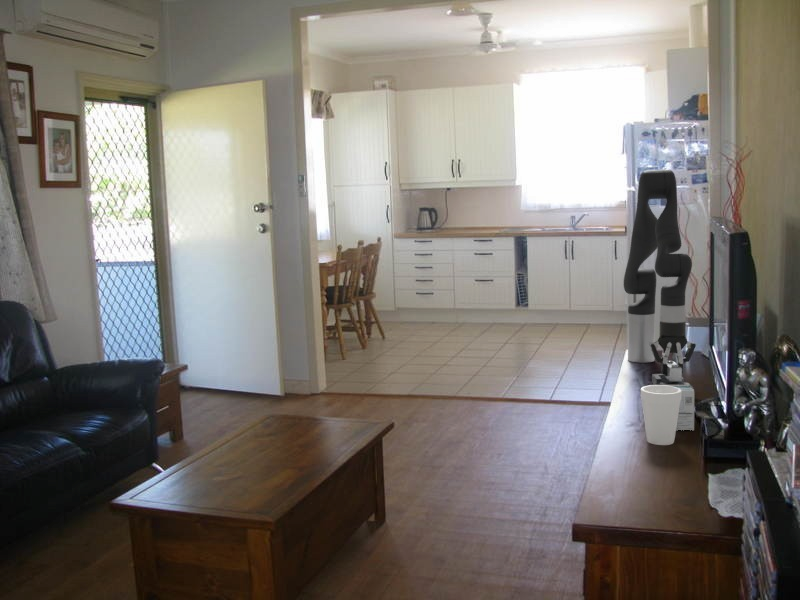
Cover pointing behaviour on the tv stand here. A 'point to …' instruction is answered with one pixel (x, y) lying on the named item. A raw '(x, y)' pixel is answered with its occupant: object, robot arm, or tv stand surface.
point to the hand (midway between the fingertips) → (672, 375)
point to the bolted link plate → (673, 371)
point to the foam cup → (660, 412)
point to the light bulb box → (685, 408)
